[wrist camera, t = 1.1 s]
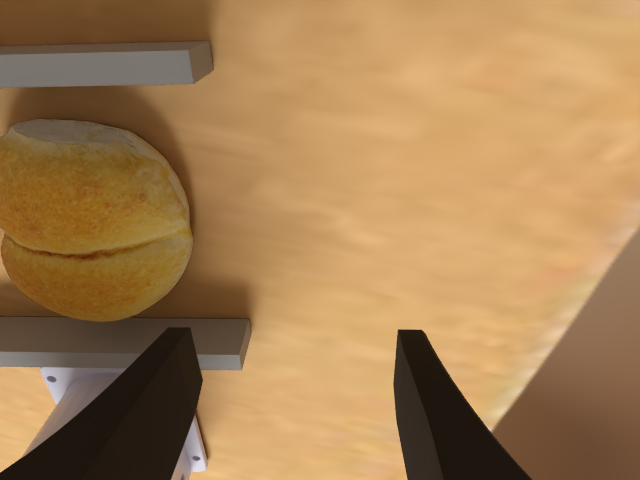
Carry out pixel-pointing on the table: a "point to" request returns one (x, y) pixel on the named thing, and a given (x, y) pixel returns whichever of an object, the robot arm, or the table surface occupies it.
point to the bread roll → (90, 218)
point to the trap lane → (130, 333)
